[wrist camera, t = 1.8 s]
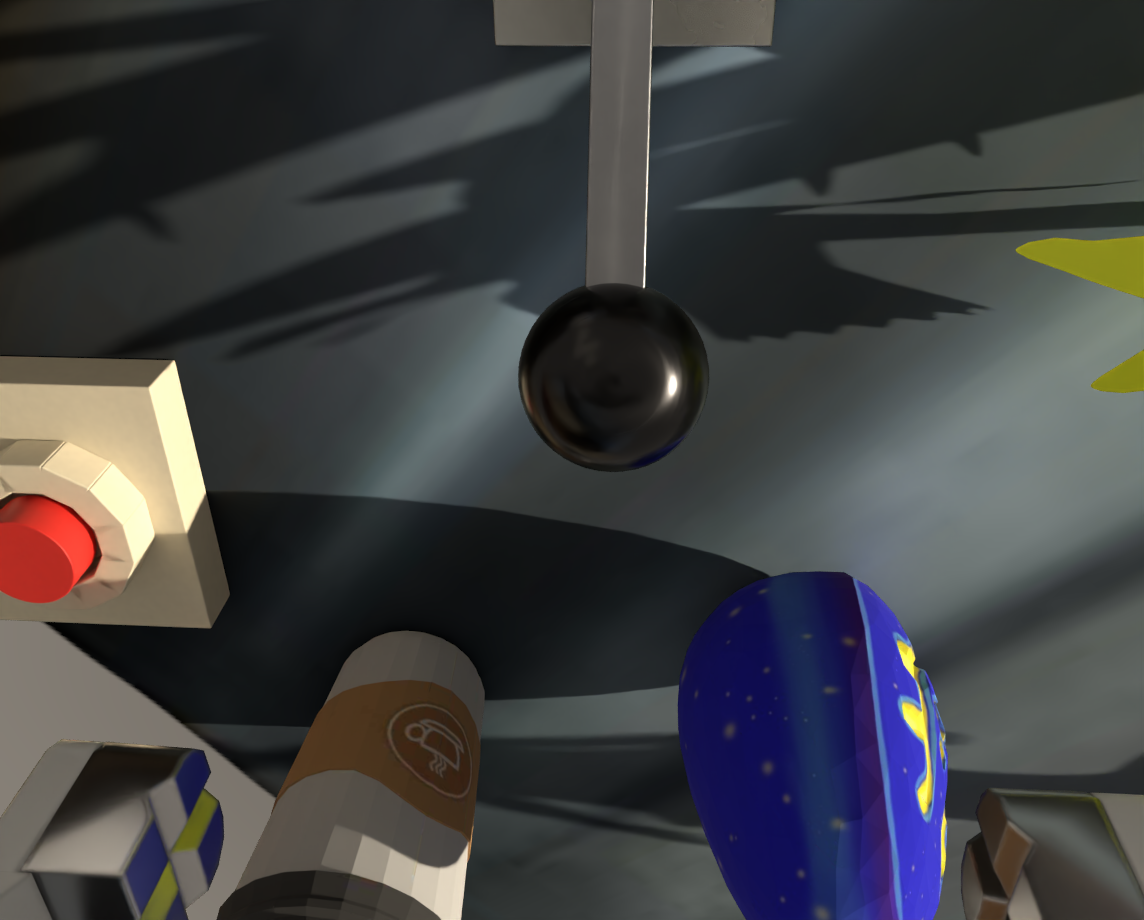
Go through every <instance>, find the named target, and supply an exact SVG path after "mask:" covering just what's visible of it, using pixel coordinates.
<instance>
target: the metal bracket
mask: <svg viewBox="0 0 1144 920" xmlns="http://www.w3.org/2000/svg"><path fill="white" fill-rule="evenodd" d="M775 6H776V0H654V12H653V46H690V47H770V46H771V45H772V39H773V28H774V17H775ZM493 12H494V34H495V45H496V46H591V14H592V0H493Z"/></svg>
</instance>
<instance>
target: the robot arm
mask: <svg viewBox="0 0 1144 920" xmlns="http://www.w3.org/2000/svg"><path fill="white" fill-rule="evenodd" d="M210 773H211V771H210V768H209V765H208V762H207V759H206V756H205V753H204V751H203V750H198V749H191V748H178V747H166V746H153V745H140V744H128V743H127V744H126V743H115V742H94V741H81V740H65V739H61V740H60V741H59V742H57V743H56V744H54V745H53V746H51V747H50V748H49V749H48V750H47V751H46V752H45V753H44V755H43V756H42V758H41V759H40V760H39V762H38V763H37V765H36V766H35V768H34V769H33V771H32V772H31V774H30V775H29V777H28V778H27V780H26V781H25V782H24V784H23V785H22V787H21V788H20V790H19V791H18V793H17V794H16V796H15V797H14V798H13V800H12V802H11V803H10V804H9V806H8V807H7V809H6V810H5V812H4V813H3V815H2V816H1V817H0V920H188V916H187V913H186V908H187V907H189V906H190V905H191V904H192V903H193V902H195V901H196V900H197V899H199V898H200V897H201V896H202V895H203V894H205V893H206V892H207V891H208V890H209V887H210V885H211V883H212V880H213V877H214V875H215V873H216V870H217V868H218V865H219V860H220V855H221V850H222V845H223V840H224V824H223V814H222V811H221V807H220V803H219V801H218V800H217V799H216V798H215V797H214V796H213V795H211V794H210V793H209V792H208V791H207V790H206V789H204V786H205V783H206V782H207V779H208V778H209V775H210ZM975 813H976V816H977V819H978V822H979V825H980V828H981V832H980V833H979V834H977V835H976V836H974V837H973V838H972V839H970V840H969V841H967V843H966V847H965V851H964V855H963V860H962V864H961V894H962V900H963V907H964V913H965V917H966V920H1144V795H1131V794H1111V793H1086V792H1083V791H1057V790H1031V789H1006V788H987V789H986V790H985V792H984V793H983V794H982V795H981V797H980V800H979V803H978V806H977V809H976V812H975Z"/></svg>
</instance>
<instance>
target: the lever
mask: <svg viewBox="0 0 1144 920" xmlns="http://www.w3.org/2000/svg"><path fill="white" fill-rule="evenodd" d="M653 12H654V0H592V14H591V57H590V100H589V144H588V187H587V230H586V274H585V286H581V287H578V288H576V289H574V290H572V291H570V292H568V293H566V294H565V295H563V296H562V297H560V298H559V299H557V300H556V301H555V302H553V303H552V304H551V305H550V306H549V307H548V308H547V309H546V310H545V311H544V312H543V313H542V314H541V315H540V316H539V318H538V319H537V321H536V322H535V323H534V325H533V326H532V328H531V330H530V332H529V334H528V336H527V338H526V340H525V343H524V346H523V349H522V352H521V357H520V361H519V372H518V381H519V391H520V397H521V401H522V404H523V407H524V411H525V413H526V415H527V417H528V419H529V422H530V423H531V425H532V427H533V428H534V430H535V431H536V433H537V434H538V435H539V436H540V438H541V439H542V440H543V441H544V442H545V443H546V444H547V445H548V446H549V447H550V448H551V449H552V450H553V451H554V452H556V453H557V454H559V455H560V456H562V457H563V458H565V459H566V460H568V461H570V462H572V463H574V464H577V465H579V466H582V467H585V468H588V469H592V470H597V471H605V472H623V471H629V470H635V469H639V468H642V467H645V466H648V465H650V464H652V463H655V462H657V461H659V460H661V459H662V458H664V457H665V456H667V455H669V454H670V453H671V452H672V451H674V450H675V449H676V448H677V447H678V446H679V445H680V444H681V443H682V442H683V441H684V440H685V439H686V438H687V437H688V435H689V434H690V433H691V431H692V430H693V429H694V427H695V425H696V423H697V422H698V420H699V418H700V416H701V413H702V411H703V408H704V405H705V402H706V398H707V394H708V386H709V365H708V359H707V354H706V350H705V347H704V344H703V341H702V339H701V337H700V334H699V332H698V330H697V329H696V327H695V325H694V324H693V322H692V320H691V319H690V318H689V317H688V316H687V314H686V313H685V312H684V311H683V310H682V309H681V308H680V307H679V306H678V305H677V304H676V303H675V302H674V301H672V300H671V299H669V298H668V297H667V296H665V295H664V294H662V293H660V292H658V291H656V290H654V289H652V288H649V287H647V286H645V280H646V247H647V213H648V180H649V146H650V113H651V79H652V46H653Z"/></svg>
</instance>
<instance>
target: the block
mask: <svg viewBox="0 0 1144 920" xmlns="http://www.w3.org/2000/svg"><path fill="white" fill-rule="evenodd" d="M26 495H40V496H45V497H49V498H51V499H54V500H56V501H58V502H60V503H62V504H65V505H67V506H69V507H71V508H73V509H74V510H75V511H76V512H77V513H78V514H79V515H80V516H81V518H82V519H83V520H84V521H85V522H86V523H87V524H88V525H89V526H90V527H91V529H92V531H93V533H94V535H95V539H96V544H97V550H96V556H95V558H94V560H93V562H92V563H91V565H90V566H89V567H88V568H87V570H86V571H85V572H84V574H83V575H82V576H81V577H80V579H79V580H78V581H77V583H76V584H75V585H74V586H73V588H72V589H71V590H70V592H69V593H68V594H67V595H66V596H64V597H62V598H61V599H59V600H56V601H53V602H49V603H31V602H26V601H22V600H18V599H16V598H13V597H11V596H9V595H7V594H5V593H3V592H2V591H0V620H20V621H44V622H68V623H92V624H116V625H141V626H165V627H189V628H212V626H213V624H214V622H215V620H216V619H217V617H218V615H219V613H220V612H221V610H222V608H223V606H224V604H225V603H226V601H227V599H228V597H229V596H230V592H229V588H228V583H227V579H226V575H225V571H224V567H223V562H222V558H221V554H220V550H219V545H218V541H217V537H216V533H215V529H214V524H213V520H212V516H211V512H210V508H209V503H208V499H207V495H206V491H205V486H204V482H203V478H202V474H201V470H200V465H199V461H198V457H197V453H196V449H195V444H194V440H193V436H192V432H191V427H190V423H189V419H188V415H187V411H186V406H185V402H184V398H183V394H182V390H181V385H180V381H179V377H178V373H177V368H176V364H175V361H174V360H139V359H97V358H55V357H12V356H0V510H1V509H2V508H3V507H4V506H5V505H6V504H7V503H8V502H9V501H11V500H13V499H15V498H17V497H21V496H26Z"/></svg>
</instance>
